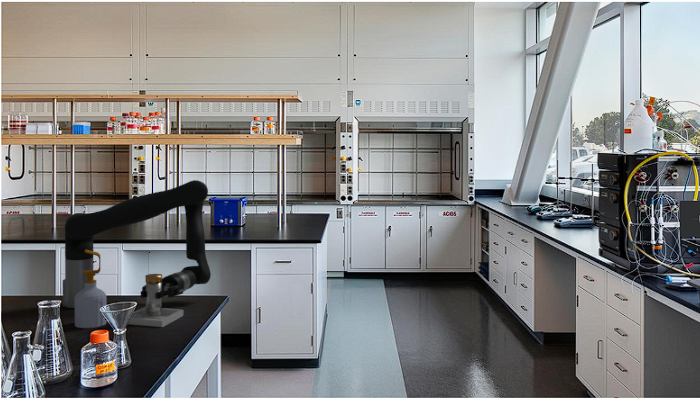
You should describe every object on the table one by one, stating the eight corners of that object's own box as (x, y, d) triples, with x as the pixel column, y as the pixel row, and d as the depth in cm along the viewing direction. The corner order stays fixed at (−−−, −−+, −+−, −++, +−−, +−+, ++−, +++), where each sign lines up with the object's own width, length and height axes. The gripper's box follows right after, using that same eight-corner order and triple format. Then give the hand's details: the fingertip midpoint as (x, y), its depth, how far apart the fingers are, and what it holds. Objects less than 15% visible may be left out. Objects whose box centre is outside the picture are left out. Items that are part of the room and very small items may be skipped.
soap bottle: (75, 324, 184) (75, 248, 182) (106, 321, 188) (106, 247, 186) (74, 332, 176) (73, 252, 174) (106, 329, 179) (106, 251, 178)
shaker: (142, 315, 186) (142, 276, 185) (150, 311, 191) (150, 273, 191) (157, 317, 185) (157, 277, 184) (165, 312, 191) (165, 274, 190)
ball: (131, 322, 185) (131, 313, 184) (136, 319, 187) (136, 310, 187) (139, 323, 184) (139, 313, 184) (144, 320, 187) (144, 311, 187)
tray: (121, 326, 183) (121, 317, 183) (145, 315, 197) (145, 306, 197) (162, 330, 180) (162, 320, 180) (183, 318, 194) (183, 309, 194)
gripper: (156, 272, 203) (129, 282, 186) (194, 274, 200) (170, 285, 184) (156, 293, 204) (129, 305, 187) (194, 296, 201) (169, 308, 184)
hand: (149, 295), depth 185 cm, fingers closed on shaker, 4 cm apart
